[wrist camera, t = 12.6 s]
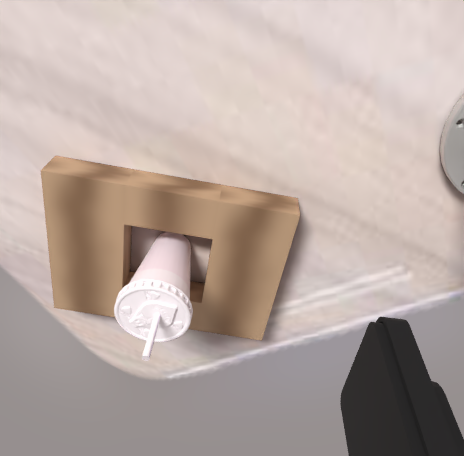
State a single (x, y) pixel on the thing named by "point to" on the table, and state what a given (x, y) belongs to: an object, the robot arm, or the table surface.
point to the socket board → (170, 220)
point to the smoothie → (158, 293)
